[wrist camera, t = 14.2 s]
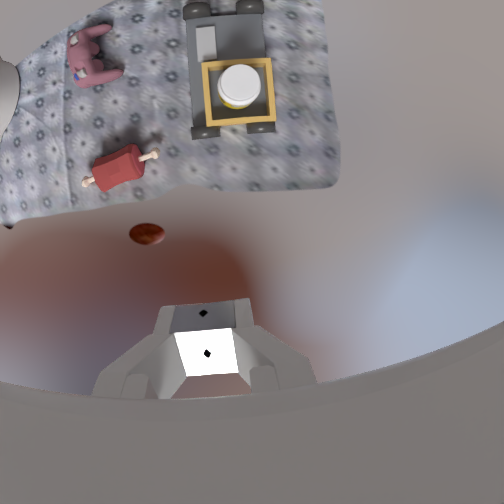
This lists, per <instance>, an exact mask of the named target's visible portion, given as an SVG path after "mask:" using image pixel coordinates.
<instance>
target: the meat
mask: <svg viewBox="0 0 504 504" xmlns="http://www.w3.org/2000/svg"><path fill="white" fill-rule="evenodd" d="M159 155H160V150H159V149H158V148H157V147H156V148H153V149H152V150H151V152H149V153H146V154H143V155H142V154H141V152H140V150H139V148H138V147H137V145H135V144H128V145H127V146H125V147H124V148H122V149H120V150H119V151H117V152H114V153H112V154H110V155H108V156H104V157H100V158H97V159H95V162H94V165H93V168H92V174H93V176H91V177H87V176H85V177H84V178H83V180H82V185H83V186H84V187H88V186H89V185H90V183H91V182H93V181H95V183H96V184H97V185H98V187H99V188H100V190H101V191H103V192H106V191H108V190H109V189H111V188H112V187H114V186H116V185H118V184H120V183H123V182H125V181H129V180H134V179H139V178H140V177H142V176H143V174H144V169H145V164H144V160H147V159H149V158H154V159H157V158H158V157H159Z"/></svg>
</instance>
